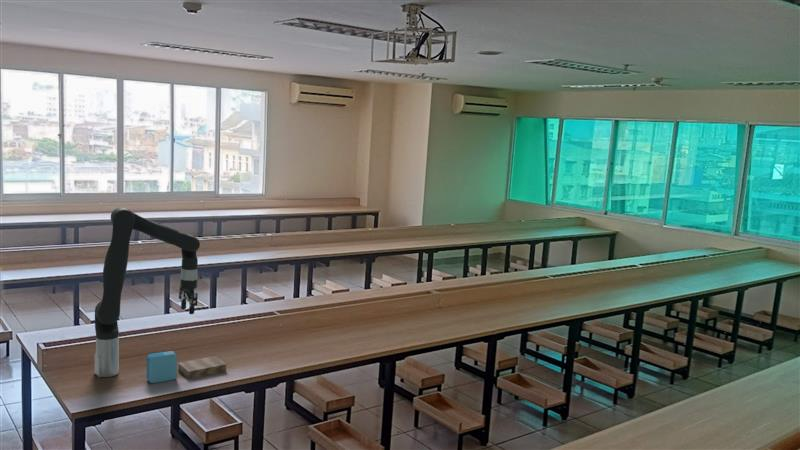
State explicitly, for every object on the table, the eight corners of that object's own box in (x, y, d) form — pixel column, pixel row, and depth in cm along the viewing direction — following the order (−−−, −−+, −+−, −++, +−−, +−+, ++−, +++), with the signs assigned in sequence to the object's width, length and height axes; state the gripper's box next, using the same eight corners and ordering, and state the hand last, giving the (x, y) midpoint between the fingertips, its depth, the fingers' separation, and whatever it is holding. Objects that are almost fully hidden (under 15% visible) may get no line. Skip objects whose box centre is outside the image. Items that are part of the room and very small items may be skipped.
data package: (174, 375, 293) (174, 350, 291) (177, 379, 289) (177, 353, 287) (146, 380, 286) (146, 354, 284) (148, 383, 282) (149, 357, 281)
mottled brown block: (188, 380, 290) (188, 371, 290) (178, 371, 299) (178, 362, 299) (226, 372, 302) (226, 364, 301) (215, 363, 311) (215, 356, 310)
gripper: (174, 275, 304) (173, 308, 306) (188, 282, 294) (186, 316, 296) (189, 273, 309) (188, 306, 311) (203, 280, 299) (202, 314, 301)
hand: (187, 311), depth 304 cm, fingers open, 8 cm apart
